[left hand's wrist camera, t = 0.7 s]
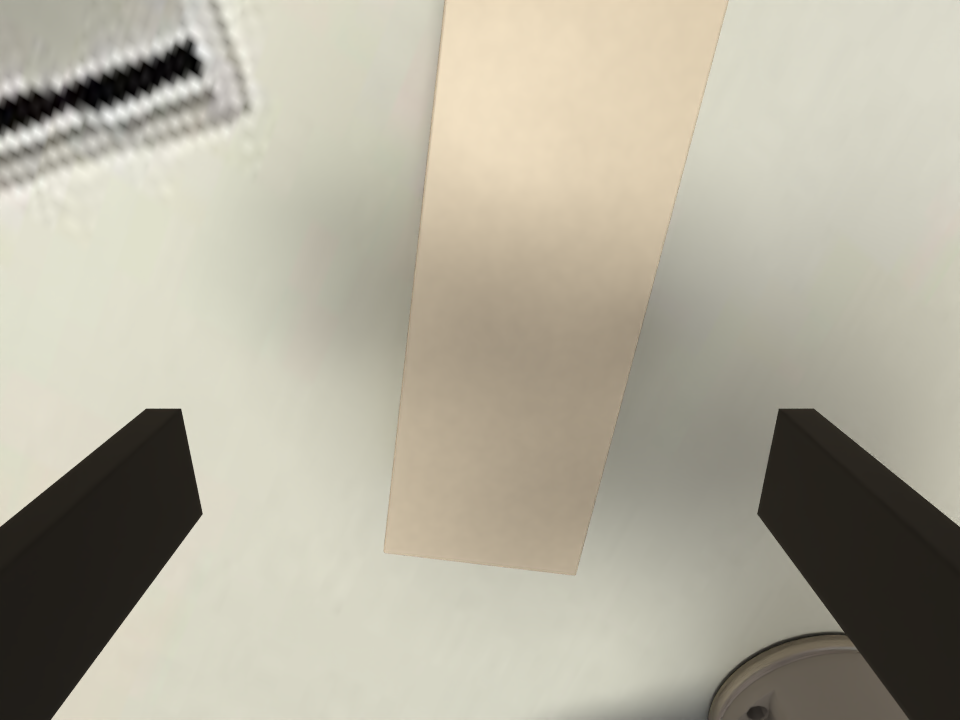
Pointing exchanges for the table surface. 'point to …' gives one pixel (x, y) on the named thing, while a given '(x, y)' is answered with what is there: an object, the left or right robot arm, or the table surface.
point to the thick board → (537, 264)
